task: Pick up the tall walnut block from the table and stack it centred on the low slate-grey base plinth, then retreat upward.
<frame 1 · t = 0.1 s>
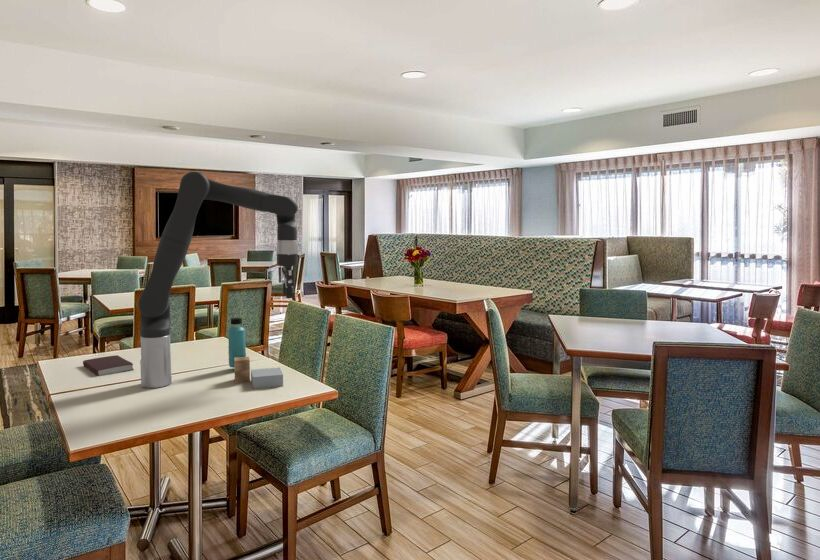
hand: (287, 296, 199), 29 cm above the table, fingers open, 8 cm apart
book: (108, 370, 207), on the table
walnut block: (242, 380, 193), on the table
base plinth: (266, 383, 190), on the table
beverage bottle: (237, 369, 207), on the table
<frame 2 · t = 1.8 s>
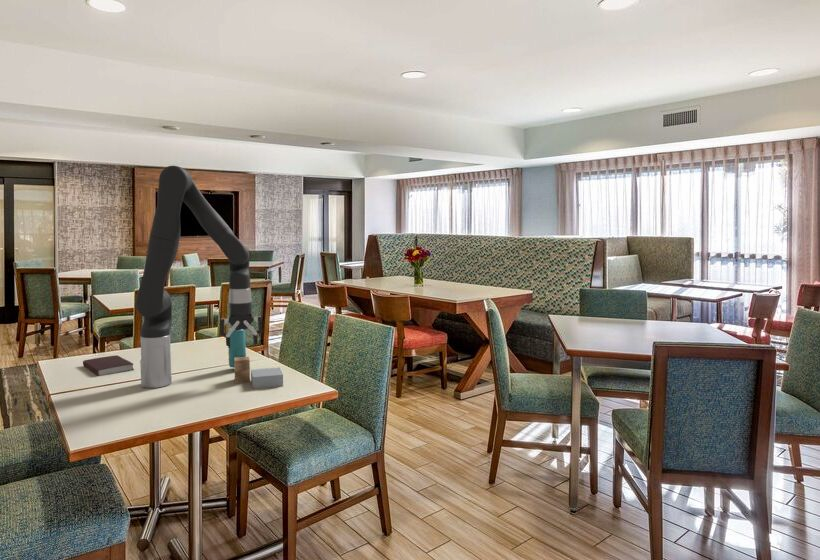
hand: (242, 346, 191), 12 cm above the table, fingers open, 8 cm apart
nothing on the table moved.
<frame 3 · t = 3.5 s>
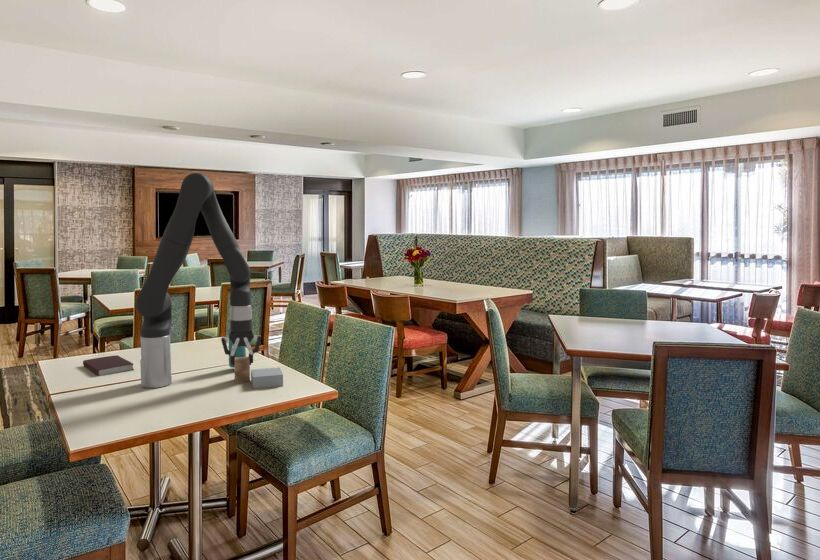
hand: (242, 364, 192), 6 cm above the table, fingers closed on walnut block, 5 cm apart
walnut block: (242, 380, 193), on the table, touching gripper
everything else where it was.
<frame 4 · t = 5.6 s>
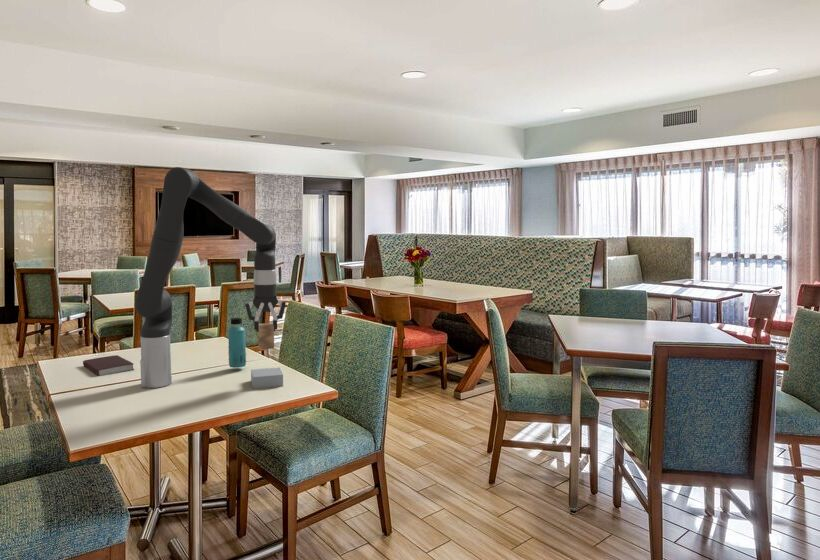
hand: (265, 331, 188), 19 cm above the table, fingers closed on walnut block, 5 cm apart
walnut block: (266, 347, 188), point 13 cm above the table, touching gripper
everything else where it was.
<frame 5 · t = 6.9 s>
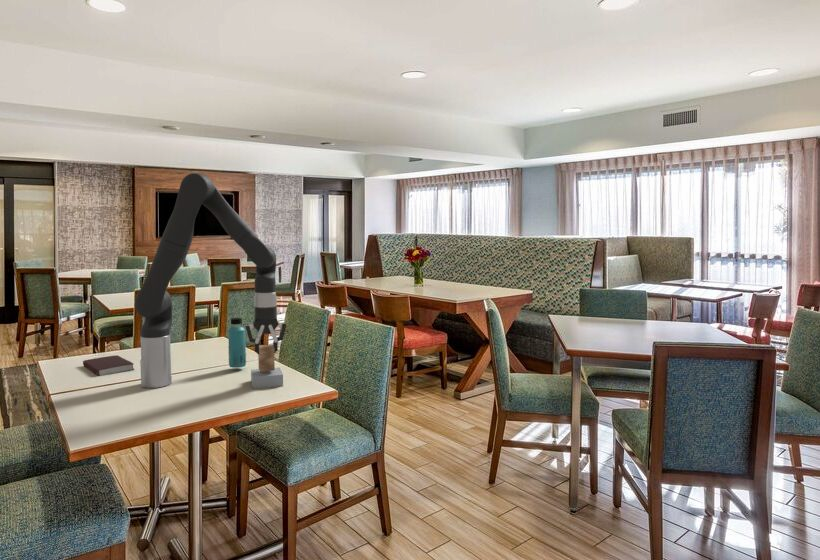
hand: (266, 352, 189), 11 cm above the table, fingers closed on walnut block, 5 cm apart
walnut block: (266, 369, 189), point 5 cm above the table, touching gripper
everything else where it was.
when the fingers open (11 cm above the table, at t = 7.8 s): walnut block stays where it is, resting on base plinth.
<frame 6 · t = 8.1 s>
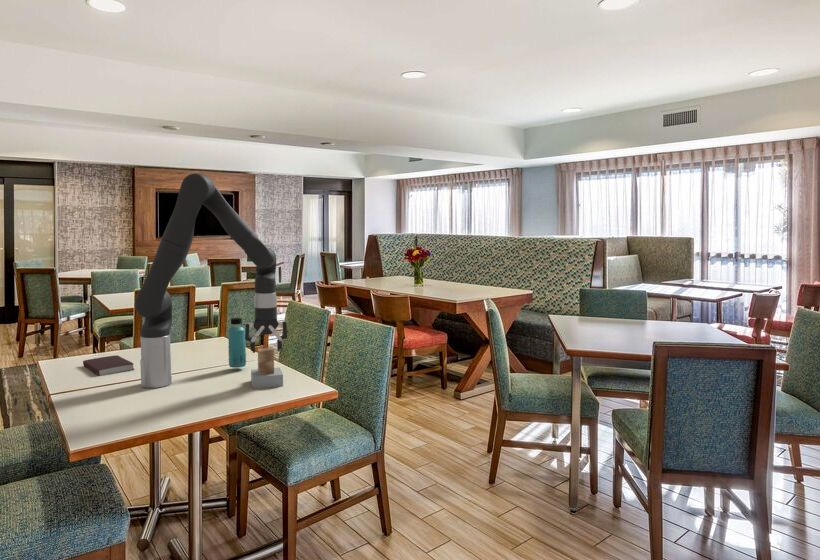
hand: (266, 351, 189), 11 cm above the table, fingers open, 8 cm apart
walnut block: (266, 372, 189), point 4 cm above the table, touching base plinth
everything else where it was.
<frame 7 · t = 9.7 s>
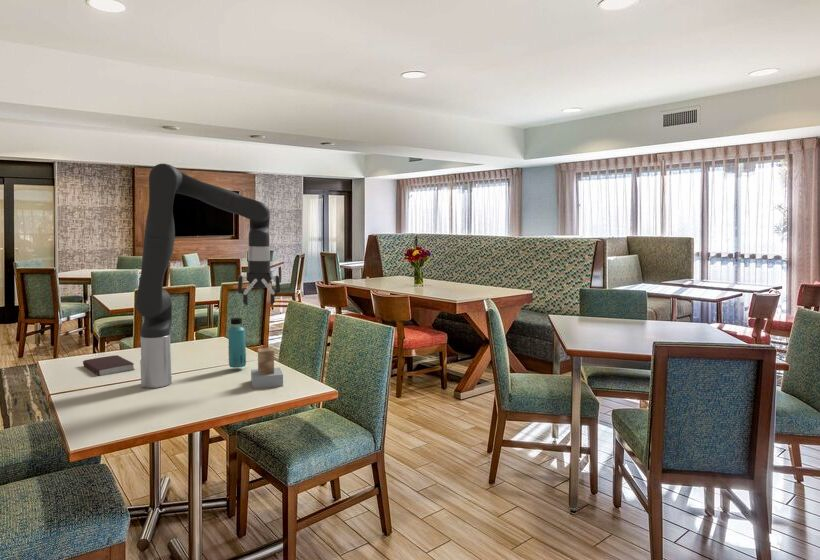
hand: (259, 305, 191), 27 cm above the table, fingers open, 8 cm apart
nothing on the table moved.
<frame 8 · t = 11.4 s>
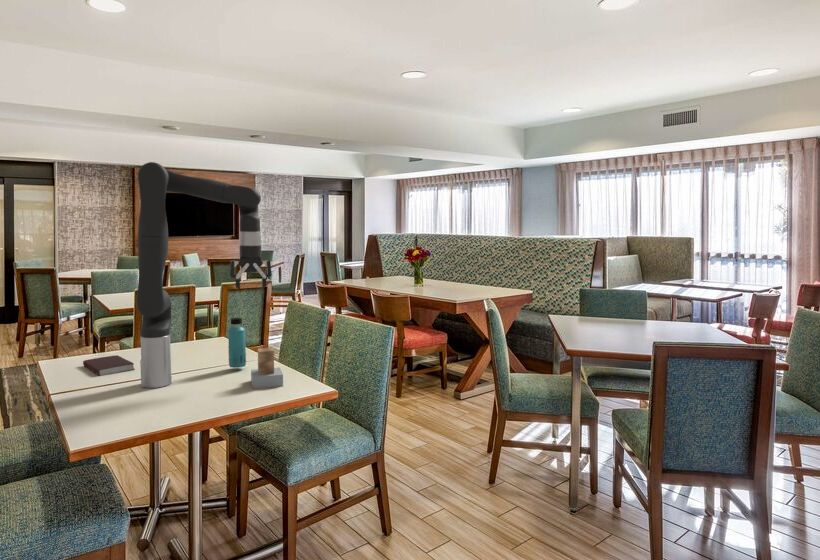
hand: (251, 288, 196), 32 cm above the table, fingers open, 8 cm apart
nothing on the table moved.
at the end: walnut block inside the target area on the base plinth (0.2 cm from its centre), point 4.0 cm above the base plinth's base; walnut block tilted 0°; the gripper is holding nothing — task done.
